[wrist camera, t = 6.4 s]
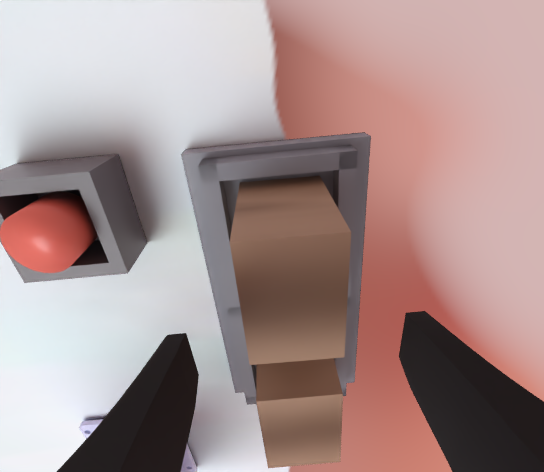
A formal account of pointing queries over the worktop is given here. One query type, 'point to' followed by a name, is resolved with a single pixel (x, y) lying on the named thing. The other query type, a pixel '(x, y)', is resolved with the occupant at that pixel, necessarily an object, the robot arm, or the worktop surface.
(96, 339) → the worktop surface
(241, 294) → the block
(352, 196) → the grey divided tray
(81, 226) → the button cap
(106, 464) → the robot arm
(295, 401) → the block
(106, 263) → the button housing
